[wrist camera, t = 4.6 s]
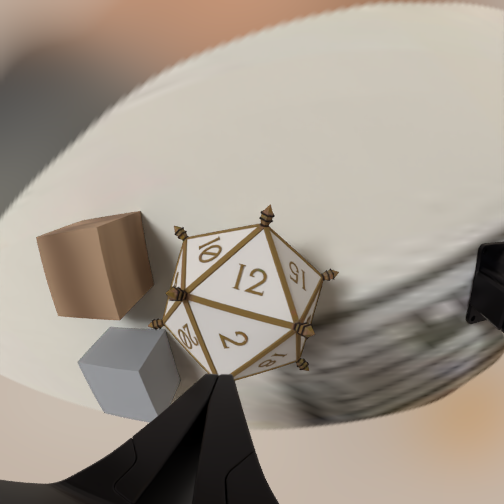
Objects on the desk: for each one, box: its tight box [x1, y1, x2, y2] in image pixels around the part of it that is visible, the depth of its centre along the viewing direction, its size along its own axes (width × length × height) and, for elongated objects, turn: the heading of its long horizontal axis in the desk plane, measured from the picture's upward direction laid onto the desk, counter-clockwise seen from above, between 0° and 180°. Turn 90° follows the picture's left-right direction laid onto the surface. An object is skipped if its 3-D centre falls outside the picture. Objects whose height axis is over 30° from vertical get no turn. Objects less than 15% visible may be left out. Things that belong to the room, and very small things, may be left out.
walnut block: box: [36, 211, 154, 320], centre depth 15 cm, size 5×5×5 cm
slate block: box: [78, 327, 181, 422], centre depth 18 cm, size 5×5×5 cm
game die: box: [148, 205, 339, 380], centre depth 13 cm, size 9×8×10 cm
